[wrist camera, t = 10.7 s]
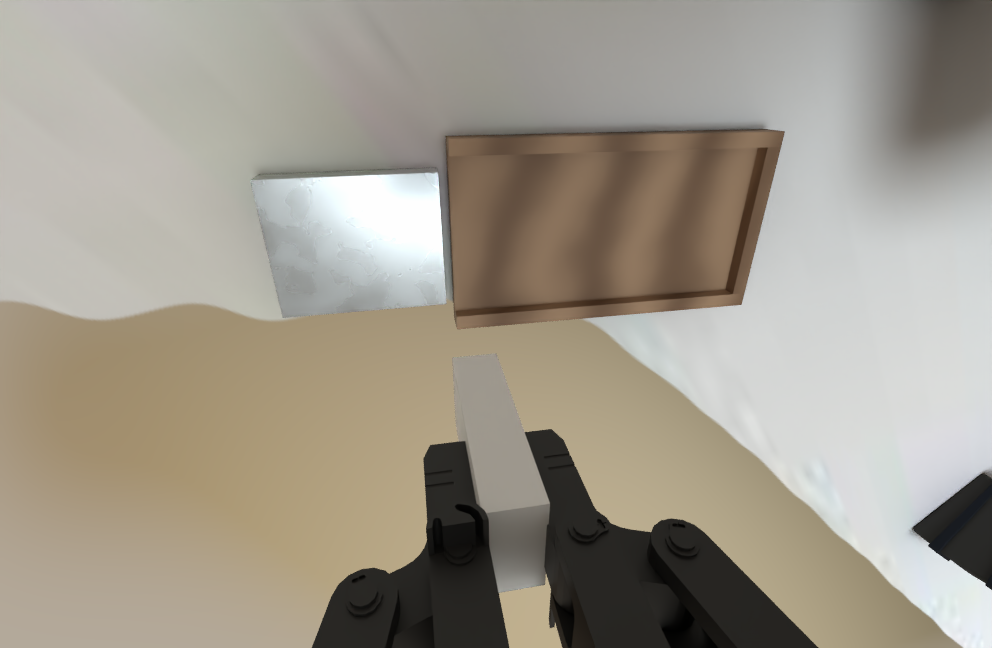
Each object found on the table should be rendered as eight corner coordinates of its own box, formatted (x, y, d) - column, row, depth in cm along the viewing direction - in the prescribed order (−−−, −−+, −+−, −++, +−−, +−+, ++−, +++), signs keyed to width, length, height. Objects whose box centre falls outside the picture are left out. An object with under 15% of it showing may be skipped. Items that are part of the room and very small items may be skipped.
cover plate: (435, 166, 32) (438, 172, 30) (443, 290, 36) (446, 303, 34) (260, 173, 30) (250, 180, 28) (290, 302, 34) (282, 317, 32)
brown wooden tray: (764, 129, 34) (784, 131, 33) (726, 295, 40) (741, 304, 38) (445, 135, 31) (448, 139, 29) (454, 317, 37) (457, 329, 35)
